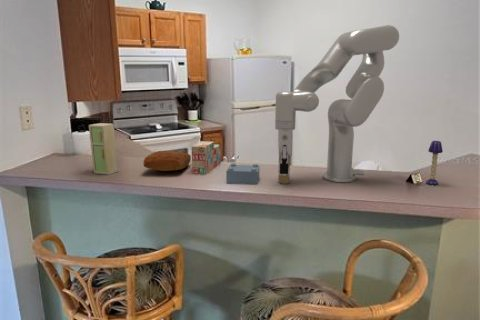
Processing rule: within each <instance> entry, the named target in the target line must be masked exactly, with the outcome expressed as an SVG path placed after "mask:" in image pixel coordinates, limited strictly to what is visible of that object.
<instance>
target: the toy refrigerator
mask: <svg viewBox="0 0 480 320" xmlns="http://www.w3.org/2000/svg"><path fill="white" fill-rule="evenodd" d="M88 131H89V132H88V133H89V139H90V140H89V141H90V149H91V157H92V159H91V160H92V166H93V173H94V174H99V175H100V174H101V175H107V174H108V175H111V174H113V173H116V172H119V163H118V153H117V151H118V150H117V143H116V133H115V132H116V131H115V124H114V123H107V122H106V123H101V122H99V123H93V124H88Z"/></svg>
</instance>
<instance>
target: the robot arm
mask: <svg viewBox="0 0 480 320" xmlns="http://www.w3.org/2000/svg"><path fill="white" fill-rule="evenodd" d="M399 40H400V33H399V30H398V28H396V27H395V26H394V25H391V24H390V25H389V24H386V25H381V26H375V27H370V28H362V29H356V30H352V31H351V30H350V31H347V32H343V33H341V35H339V36H338V37H337V39H335V41H334V42H333V44H332V45H331V46H330V48H329V49H328V51H327V52H326V53H325V55H324V56H323V57H322V59H321V60H320V61H319V62H318V63H317V65H316V66H314V67H313V68H312V69H311V71H309V72H308V73H307V74H306V75H305V76H304V77H303V78H302V79H301V81H299V83H298V84H297V85H296V87H295V88H294V89H293V91H279V92H277V93H276V94H275V110H274V111H275V112H274V113H275V114H274V115H275V118H274V120H275V121H274V123H275V124H274V125H275V126H274V127H275V128H274V129H275V130H277V133H278V134H277V136H278V137H277V139H278V140H277V143H278V144H277V145H278V156H279V155H280V156H281V163H280V174H288V155H290V157H292V156H293V130H296V117H297V115H296V112H297V111H298V112H307V113H310V112H312V111H314V110H316V109H317V107H318V106H319V103H320V99H319V96H318V95H317V94H316V92H317V91H318V90H319V89H320V88H321V87H322V86H325V85H326V84H328V83H330V82H332V81H334V80H336V78H338V76H339V75H340V74H341V72H342V71H343V69H344V68H345V67H346V66H347V64H348V63H349V62H350V61H351V59H352V57H354V56H359V55H360V56H361V55H362V59H361V62H360V64H359V66H358V67H357V69H356V70H355V72H354V74H353V75H352V76H351V77H350V80H349V81H348V83H347V85H346V87H345V94H346V95H347V97H348V98H349V99H345V98H340V99H336V100H334V101H333V102H331V104H330V105H329V107H328V110H327V121H328V143H327V144H328V145H327V146H328V147H327V160H326V161H327V163H326V172H324V173H322V178H323V179H324V180H326V181H329V182H334V183H350V182H354V181H355V179H356V176H364V174H365V171H364V170H360V169H354V168H353V166H352V165H353V155H354V154H353V153H354V152H353V151H354V137H355V133H354V128H355V127H360V126H361V125H363V124H364V123H366V121H367V119H369V117H370V115H371V114H372V113H373V111H374V109H376V106H377V105H378V104H379V103H380V100H381V99H382V97H383V95H384V91H385V85H384V84H385V83H384V81H383V80H382V78H381V77H380V76H381V74H382V72H383V70H384V67H385V56H384V51H385V52H386V51H389V50H392V49H394V48H395V47H396V46H397V44H398V43H399ZM282 154H283V155H282ZM286 154H287V156H286ZM282 157H283V158H282ZM286 157H287V158H286ZM286 161H287V162H286Z"/></svg>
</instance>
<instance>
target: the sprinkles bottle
mask: <svg viewBox="0 0 480 320" xmlns="http://www.w3.org/2000/svg"><path fill="white" fill-rule="evenodd" d="M282 155H283V154H282ZM286 156H287V154H286ZM282 158H283V157H282ZM286 158H287V157H286ZM290 161H291V156H290V155H288V174H280V163H281V156H280V155H279V154H278V167H277V168H278V169H277V171H278V180H277V182H278V183H279V184H289V183H290V182H291V181H290V173H291V172H290V171H291V162H290ZM286 162H287V161H286Z"/></svg>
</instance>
